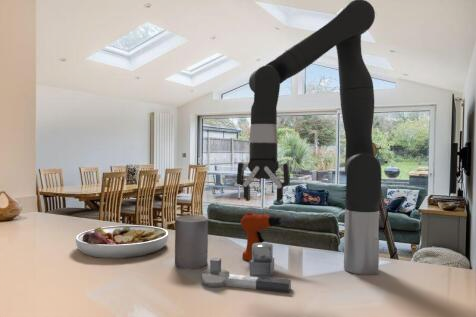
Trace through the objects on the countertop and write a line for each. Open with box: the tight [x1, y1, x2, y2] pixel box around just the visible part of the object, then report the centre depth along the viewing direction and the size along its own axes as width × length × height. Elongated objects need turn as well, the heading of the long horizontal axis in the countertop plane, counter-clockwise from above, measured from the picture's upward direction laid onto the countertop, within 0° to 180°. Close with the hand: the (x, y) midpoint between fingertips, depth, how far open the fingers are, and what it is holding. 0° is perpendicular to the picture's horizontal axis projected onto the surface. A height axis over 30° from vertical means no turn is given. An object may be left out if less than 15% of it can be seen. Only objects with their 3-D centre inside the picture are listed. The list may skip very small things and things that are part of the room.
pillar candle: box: [174, 213, 209, 270], centre depth 115 cm, size 10×10×15 cm
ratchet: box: [201, 257, 292, 294], centre depth 98 cm, size 22×7×6 cm, turn 74°
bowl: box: [75, 224, 169, 259], centre depth 133 cm, size 30×30×8 cm
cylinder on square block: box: [249, 242, 275, 277], centre depth 107 cm, size 6×6×8 cm
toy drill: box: [240, 211, 297, 262], centre depth 118 cm, size 5×19×15 cm, turn 61°
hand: (263, 201), depth 106 cm, fingers open, 8 cm apart
